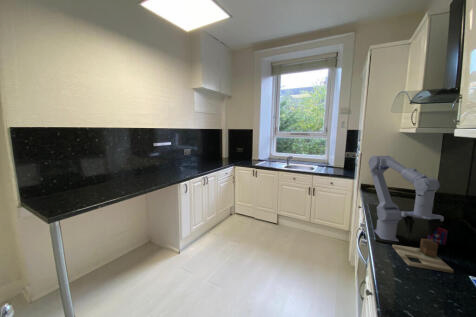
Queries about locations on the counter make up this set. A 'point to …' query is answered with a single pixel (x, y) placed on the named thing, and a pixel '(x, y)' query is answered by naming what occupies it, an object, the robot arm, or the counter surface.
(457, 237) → the counter surface
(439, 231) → the mug
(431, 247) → the peg
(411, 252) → the board
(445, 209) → the counter surface
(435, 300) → the counter surface
